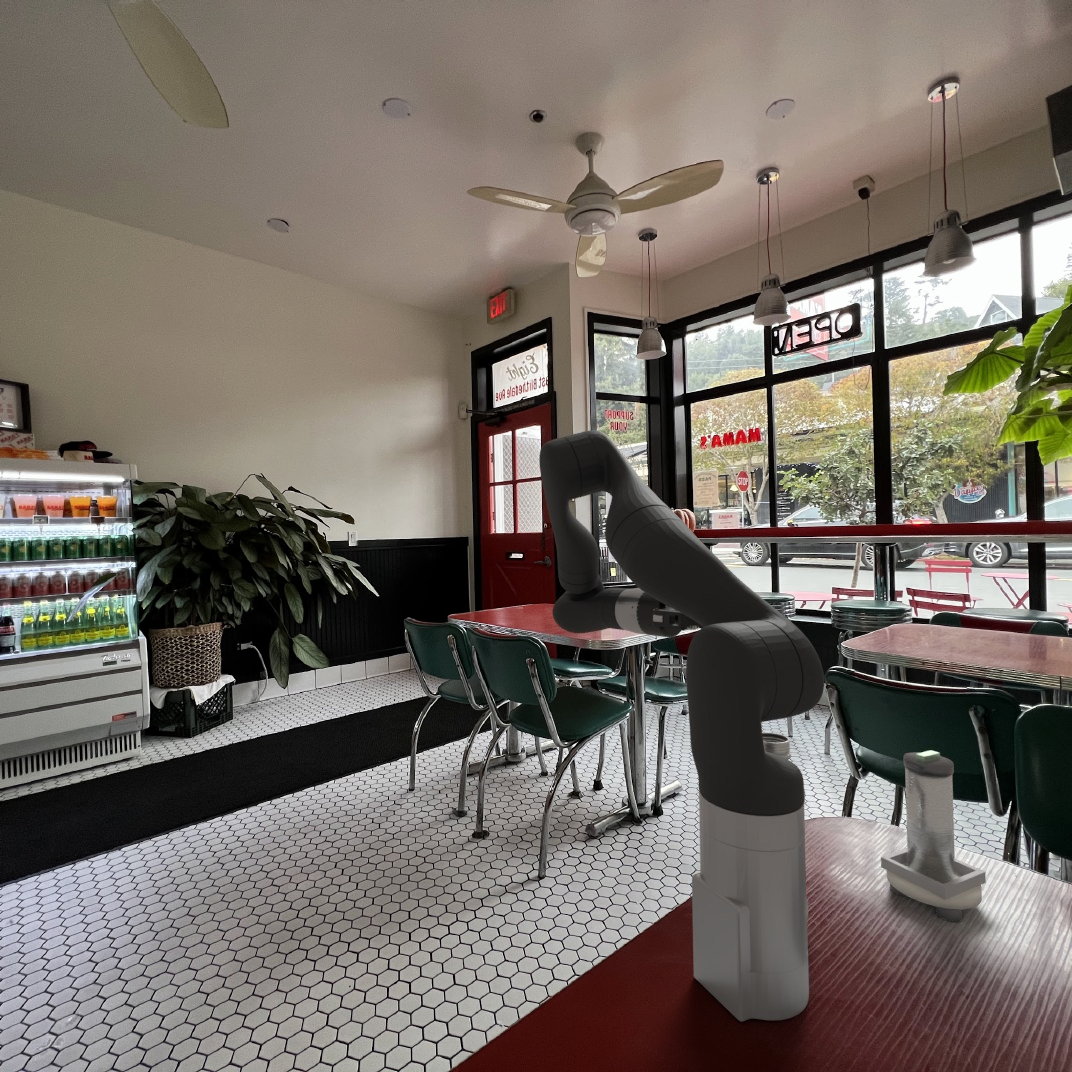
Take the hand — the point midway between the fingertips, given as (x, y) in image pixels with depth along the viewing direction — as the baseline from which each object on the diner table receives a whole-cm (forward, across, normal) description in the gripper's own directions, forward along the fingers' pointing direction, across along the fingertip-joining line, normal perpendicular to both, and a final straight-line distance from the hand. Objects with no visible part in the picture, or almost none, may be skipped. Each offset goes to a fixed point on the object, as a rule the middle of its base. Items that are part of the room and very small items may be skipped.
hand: (740, 619), depth 85 cm
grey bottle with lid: (+22, +2, +27) cm, 35 cm away
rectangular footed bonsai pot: (+22, +2, +30) cm, 37 cm away
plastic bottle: (+13, -16, +30) cm, 37 cm away
